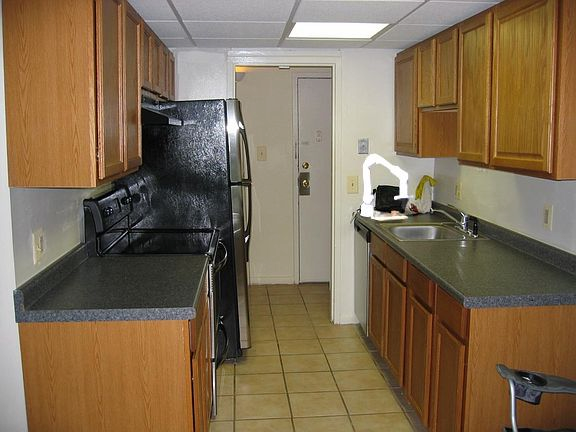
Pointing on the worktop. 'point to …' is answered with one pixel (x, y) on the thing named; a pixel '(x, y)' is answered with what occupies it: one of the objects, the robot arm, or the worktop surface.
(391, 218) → the gauge board
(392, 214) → the carriage
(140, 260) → the worktop surface
